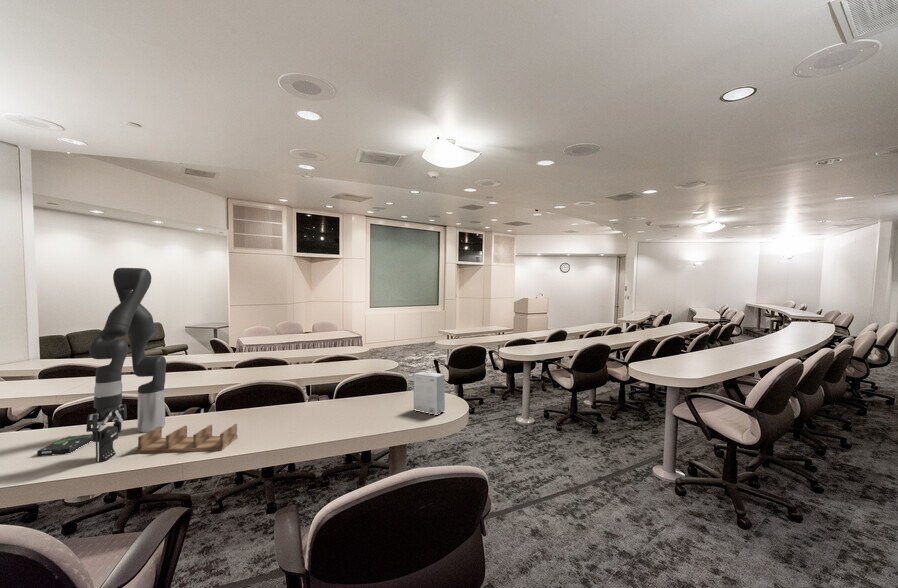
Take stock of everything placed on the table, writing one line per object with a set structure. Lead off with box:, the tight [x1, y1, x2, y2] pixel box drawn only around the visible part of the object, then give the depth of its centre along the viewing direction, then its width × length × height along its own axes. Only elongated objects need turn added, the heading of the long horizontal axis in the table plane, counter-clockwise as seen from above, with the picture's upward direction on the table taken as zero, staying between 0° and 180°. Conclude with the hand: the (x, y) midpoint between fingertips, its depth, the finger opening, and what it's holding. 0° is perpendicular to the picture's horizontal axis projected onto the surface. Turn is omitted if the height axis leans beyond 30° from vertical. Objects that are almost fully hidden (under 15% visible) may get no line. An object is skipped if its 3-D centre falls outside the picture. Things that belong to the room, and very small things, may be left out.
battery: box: [95, 425, 119, 463], centre depth 131 cm, size 7×4×11 cm, turn 16°
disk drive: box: [36, 433, 93, 457], centre depth 140 cm, size 10×3×15 cm
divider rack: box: [136, 423, 238, 454], centre depth 142 cm, size 12×31×6 cm, turn 95°
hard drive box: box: [413, 371, 446, 415], centre depth 184 cm, size 16×8×20 cm, turn 58°
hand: (107, 437), depth 131 cm, fingers open, 8 cm apart
